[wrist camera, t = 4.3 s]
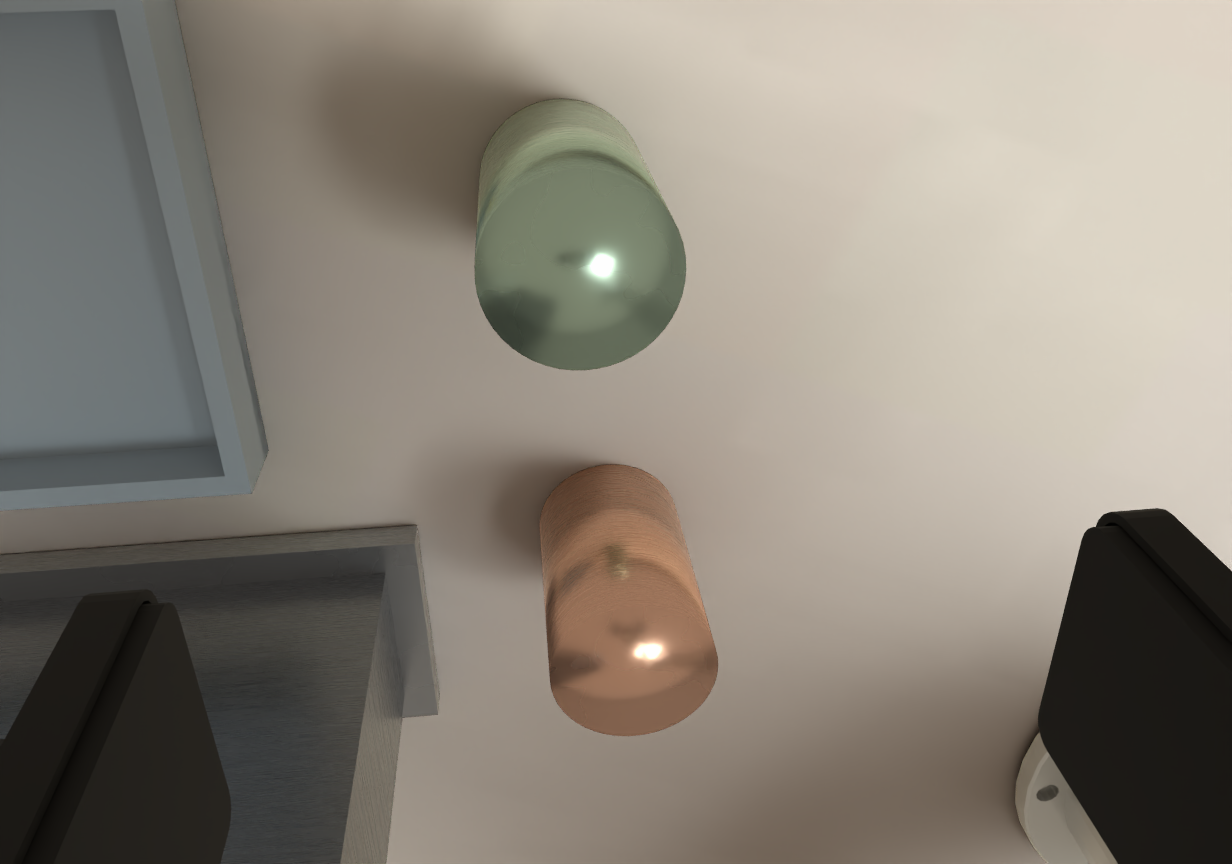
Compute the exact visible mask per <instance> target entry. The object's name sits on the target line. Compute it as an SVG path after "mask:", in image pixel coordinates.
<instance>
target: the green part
mask: <svg viewBox="0 0 1232 864" xmlns="http://www.w3.org/2000/svg"><path fill="white" fill-rule="evenodd" d="M685 277H686V256H685V251H684V246H683V241H682V239H681V236H680V233H679V230H678V228H677V226H676V224H675V222H674V220H673V218H672V216H671V214H670V212H669V210H668V208H667V206H666V204H665V202H664V200H663V198H662V196H661V194H660V192H659V190H658V188H657V186H656V184H655V182H654V180H653V178H652V176H651V174H650V172H649V170H648V168H647V166H646V164H645V162H644V160H643V158H642V156H641V154H640V152H639V150H638V148H637V146H636V144H635V142H634V140H633V139H632V137H631V136H630V134H629V133H628V131H627V130H626V129H625V128H624V127H623V125H622V124H621V123H620V122H619V121H618V120H616V119H615V118H614V117H613V116H612V115H610V114H609V113H607V112H606V111H604V110H603V109H601V108H599V107H596V106H594V105H592V104H589V103H586V102H583V101H578V100H572V99H553V100H546V101H542V102H538V103H535V104H532V105H530V106H527V107H525V108H523V109H522V110H520V111H518V112H516V113H515V114H514V115H512V116H511V117H510V118H508V119H507V120H506V121H505V122H504V123H503V124H502V125H501V126H500V127H499V128H498V130H497V131H496V132H495V134H494V135H493V137H492V138H491V140H490V142H489V144H488V145H487V148H486V150H485V153H484V155H483V159H482V163H481V168H480V176H479V194H478V213H477V232H476V250H475V284H476V290H477V295H478V298H479V301H480V305H481V307H482V309H483V312H484V314H485V316H486V318H487V319H488V321H489V323H490V324H491V326H492V327H493V329H494V330H495V331H496V332H497V334H498V335H499V336H500V337H501V338H502V339H503V340H504V341H505V342H506V343H507V344H508V345H509V346H510V347H512V348H513V349H514V350H516V351H517V352H519V353H520V354H522V355H523V356H525V357H527V358H529V359H531V360H533V361H535V362H538V363H540V364H543V365H546V366H550V367H554V368H558V369H566V370H591V369H598V368H603V367H607V366H611V365H614V364H616V363H619V362H622V361H624V360H626V359H628V358H630V357H632V356H634V355H635V354H637V353H638V352H640V351H641V350H643V349H644V348H646V347H647V346H648V345H649V344H650V343H652V342H653V341H654V340H655V339H656V338H657V337H658V336H659V335H660V333H661V332H662V331H663V330H664V329H665V328H666V326H667V325H668V323H669V322H670V320H671V319H672V317H673V315H674V313H675V311H676V309H677V307H678V305H679V302H680V299H681V297H682V294H683V289H684V284H685Z"/></svg>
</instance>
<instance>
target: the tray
mask: <svg viewBox="0 0 1232 864" xmlns="http://www.w3.org/2000/svg"><path fill="white" fill-rule="evenodd" d="M268 451H269V450H268V445H267V440H266V435H265V431H264V426H263V421H262V416H261V412H260V407H259V402H258V397H257V392H256V388H255V383H254V378H253V373H252V368H251V364H250V359H249V354H248V349H247V345H246V340H245V335H244V330H243V325H242V321H241V316H240V311H239V306H238V301H237V297H236V292H235V287H234V282H233V278H232V273H231V268H230V263H229V258H228V254H227V249H226V244H225V239H224V234H223V230H222V225H221V220H220V215H219V211H218V206H217V201H216V196H215V191H214V187H213V182H212V177H211V172H210V168H209V163H208V158H207V153H206V148H205V144H204V139H203V134H202V129H201V124H200V120H199V115H198V110H197V105H196V101H195V96H194V91H193V86H192V81H191V77H190V72H189V67H188V62H187V57H186V53H185V48H184V43H183V38H182V34H181V29H180V24H179V19H178V14H177V10H176V5H175V0H0V511H4V510H18V509H33V508H48V507H62V506H77V505H92V504H106V503H121V502H136V501H150V500H165V499H180V498H194V497H209V496H224V495H238V494H252V492H253V489H254V487H255V484H256V482H257V479H258V476H259V474H260V471H261V469H262V466H263V463H264V461H265V458H266V456H267V453H268Z"/></svg>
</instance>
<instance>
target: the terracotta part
mask: <svg viewBox="0 0 1232 864" xmlns="http://www.w3.org/2000/svg"><path fill="white" fill-rule="evenodd" d="M540 542H541V556H542V571H543V585H544V600H545V614H546V629H547V643H548V658H549V672H550V683H551V689H552V692H553V695H554V698H555V700H556V702H557V704H558V705H559V706H560V708H561V709H562V710H563V712H564V713H565V714H566V715H568V716H569V717H570V718H571V719H572V720H574V721H575V722H576V723H578V724H580V725H582V726H584V727H585V728H588V729H590V730H593V731H596V732H600V733H603V734H609V735H616V736H636V735H643V734H648V733H653V732H657V731H660V730H662V729H665V728H668V727H670V726H672V725H674V724H676V723H678V722H680V721H682V720H683V719H685V718H686V717H688V716H689V715H690V714H692V713H693V712H694V711H695V710H696V709H697V708H698V707H699V706H700V705H701V704H702V703H703V702H704V701H705V699H706V698H707V696H708V695H709V693H710V692H711V690H712V688H713V686H714V683H715V680H716V677H717V671H718V657H717V653H716V648H715V645H714V641H713V638H712V634H711V631H710V627H709V624H708V620H707V617H706V613H705V610H704V606H703V603H702V599H701V596H700V592H699V589H698V585H697V582H696V578H695V574H694V571H693V567H692V564H691V560H690V557H689V553H688V550H687V546H686V543H685V539H684V536H683V532H682V529H681V525H680V522H679V518H678V515H677V511H676V508H675V504H674V502H673V499H672V497H671V495H670V493H669V492H668V490H667V489H666V488H665V486H664V485H663V484H662V483H661V482H660V481H659V480H657V479H656V478H655V477H653V476H652V475H650V474H648V473H646V472H645V471H643V470H640V469H637V468H634V467H630V466H625V465H600V466H595V467H591V468H587V469H585V470H582V471H579V472H577V473H575V474H573V475H572V476H570V477H569V478H567V479H565V480H564V481H563V482H562V483H561V484H559V485H558V486H557V487H556V488H555V489H554V491H553V492H552V493H551V494H550V496H549V497H548V499H547V500H546V502H545V504H544V506H543V509H542V512H541V517H540Z"/></svg>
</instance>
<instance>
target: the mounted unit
mask: <svg viewBox="0 0 1232 864" xmlns="http://www.w3.org/2000/svg"><path fill="white" fill-rule="evenodd" d="M141 589H147V590H150V591H152V593H153V594H154V595H155V596H156V599H157V601H158V603H165V602H170V603H173V605H174V606H175V607H176V610H177V612H178V615H179V618H180V622H181V625H182V629H183V632H184V636H185V639H186V643H187V646H188V650H189V653H190V657H191V660H192V663H193V667H194V670H195V674H196V677H197V681H198V684H199V688H200V691H201V695H202V698H203V702H204V705H205V709H206V712H207V716H208V719H209V722H210V726H211V729H212V733H213V736H214V740H215V743H216V747H217V750H218V754H219V757H220V761H221V764H222V768H223V771H224V774H225V778H226V781H227V785H228V788H229V793H230V799H231V820H230V827H229V832H228V836H227V840H226V844H225V848H224V851H223V855H222V859H221V863H220V864H386V860H387V851H388V842H389V833H390V824H391V815H392V806H393V797H394V787H395V778H396V769H397V760H398V751H399V742H400V733H401V724H402V718H405V717H416V716H428V715H438V710H439V695H440V693H439V686H438V678H437V671H436V663H435V656H434V648H433V641H432V633H431V626H430V619H429V611H428V604H427V596H426V589H425V581H424V574H423V566H422V559H421V551H420V544H419V536H418V529H417V525H411V526H397V527H383V528H369V529H355V530H341V531H327V532H313V533H299V534H285V535H271V536H257V537H244V538H230V539H216V540H202V541H188V542H174V543H160V544H146V545H132V546H118V547H104V548H90V549H76V550H62V551H48V552H34V553H20V554H6V555H0V739H5V738H6V736H7V734H8V732H9V730H10V728H11V726H12V725H13V723H14V721H15V719H16V717H17V715H18V714H19V712H20V710H21V708H22V706H23V704H24V703H25V701H26V699H27V697H28V695H29V693H30V691H31V690H32V688H33V686H34V684H35V682H36V680H37V679H38V677H39V675H40V673H41V671H42V669H43V668H44V666H45V664H46V662H47V660H48V658H49V657H50V655H51V653H52V651H53V649H54V647H55V645H56V644H57V642H58V640H59V638H60V636H61V634H62V633H63V631H64V629H65V627H66V625H67V623H68V622H69V620H70V618H71V616H72V614H73V612H74V610H75V609H76V607H77V605H78V603H79V602H80V601H81V599H82V598H83V597H84V596H86V595H88V594H91V593H104V592H116V591H129V590H141Z"/></svg>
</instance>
